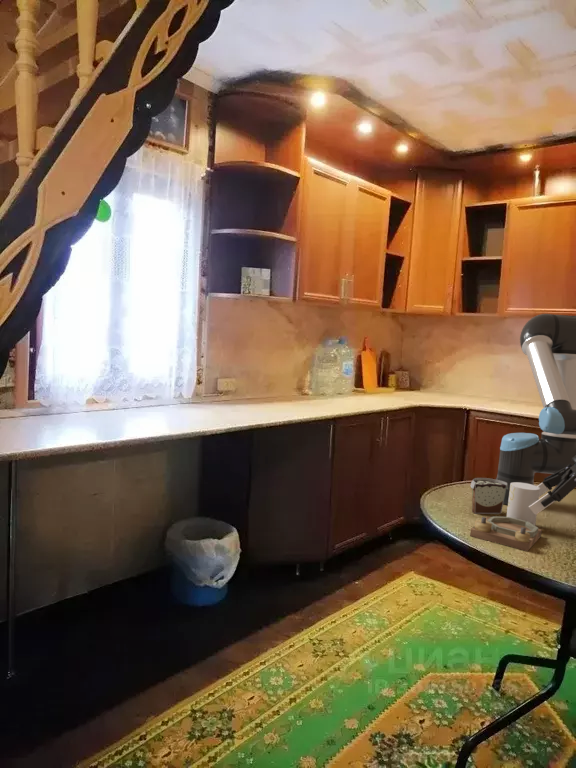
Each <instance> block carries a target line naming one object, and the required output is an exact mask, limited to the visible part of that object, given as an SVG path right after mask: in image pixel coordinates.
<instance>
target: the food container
mask: <svg viewBox="0 0 576 768" xmlns="http://www.w3.org/2000/svg"><path fill="white" fill-rule="evenodd" d="M469 486H470V488H471V490H472V491H471V492H472V495H471V497H472V500H471V501H472V503H471V505H472V506H471V507H472V508H471V511H472V513H473V514H475V515H480V514H481V515H484V514H485V515H487V514H488V515H489V514H490V515H492V514H493V515H494V514H495V515H499V514H500V515H501V514H502V512H503V507H504V506H503V505H504V504H503V502H504V497H505V493H506V489H508V485H507V483H506V482H504V481H500V480H496V478H494V479H493V478H489V477H488V478H487V477H474V478H473V479H472V480H471V482H470V485H469Z"/></svg>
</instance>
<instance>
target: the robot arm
mask: <svg viewBox="0 0 576 768" xmlns="http://www.w3.org/2000/svg"><path fill="white" fill-rule="evenodd" d="M519 343H520V345H519V346H520V347H521V351H522V353H523V355H525V356H527V359H528V362H529V363H528V364H529V366H530V368H531V372H532V377H533V378H534V382H535V385H536V388H537V392H538V395H539V397H540V401H541V404H542V407H543V408H542V409H541V410H540V411H539V414H538V421H539V422H538V425H539V428H540V430H542V432H541V436H540V437H539V435H537V434H536V433H531V432H511V433H507V434H504V435H503V436H502V438H501V442H500V447H499V456H498V457H499V458H498V459H499V460H498V467H497V475H496V478H495V479H496V480H500V481H504V482H506V483H507V485H508V489H506V493H505V497H504V502H503V505H507V506H508V500H509V491H510V483H513V482H520V483H527V484H532V485H535V482H534V479H535V474H536V473H537V474H538V473H539V474H551V475H548V476H546V477H544V478H543V481H542V482H541V483H539V484H538V485H537V486H538V487H539V488H540V492H539V500H537V501H536V502H535V503H533V504H532V505H530V506H529V508H530V509H531V510H532V512H533V513H534V514H535V515H536V514H537V515H538V514H539V513H540V512H542V511H543V510H545V509H546V508H548V507H549V506H550V505H552V504H554V503H555V502H561V501H562V500H563V499H564V498H566V496H568V495H569V494H570V493H571V492H572V491H573V490H575V488H576V315H565V314H555V313H554V314H553V313H541V314H538V315H535V316H533V317H531V318H530V319H529V320H528V321H526V323H525V324H524V325H523V328H522V329H521V331H520V336H519ZM553 487H554V488H553ZM542 495H543V496H542ZM540 497H541V498H540Z"/></svg>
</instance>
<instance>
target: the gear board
mask: <svg viewBox="0 0 576 768" xmlns="http://www.w3.org/2000/svg"><path fill="white" fill-rule="evenodd" d="M469 536H470V537H472V538H476V539H480V540H483V539H484V541H487V540H488V542H491V541H492V543H494V542H496V543H495V544H498V543H500V544H499V545H502V544H503V545H502V546H506V545H507V546H506V547H509V546H511V547H510V548H513V547H514V549H517V548H518V550H521V551H525V552H528V551H530V549H531V548H532V547H533V546H534V544H535V543H536V542H537V541H538V540H539V539H540V538H541V537H542V528H539V527H538V526H536V524H535V525H533V524H531V523H530V522H527V521H524V520H520V519H516V518H511V517H507V516H486V517H485V516H482V517H481V519H476V520H475V522H474V526H473V527H471V528H470V533H469Z"/></svg>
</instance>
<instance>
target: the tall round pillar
mask: <svg viewBox="0 0 576 768" xmlns="http://www.w3.org/2000/svg"><path fill="white" fill-rule="evenodd" d="M539 492H540V488H539V487H538V485H535V484H534V485H532V484H527V483H520V482H513V483H510V491H509V500H508V505H507V508H506V517H511V518H516V519H520V520H524V521H527V522H530V523H531V524H533V525H535V526H536V522H537V515H538V514H536V515H535V514H534V513H533V512H532V510H531V509H530V508H529V506H530V505H532V504H533V503H535V502H536V501H537V500H539V499H540V497H539Z"/></svg>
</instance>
